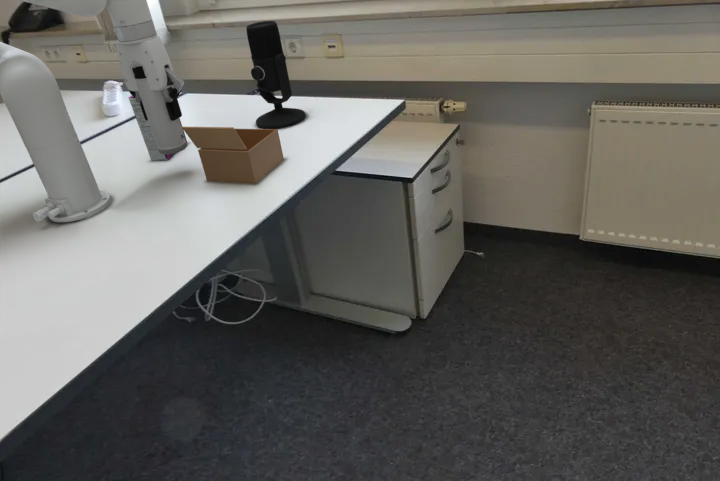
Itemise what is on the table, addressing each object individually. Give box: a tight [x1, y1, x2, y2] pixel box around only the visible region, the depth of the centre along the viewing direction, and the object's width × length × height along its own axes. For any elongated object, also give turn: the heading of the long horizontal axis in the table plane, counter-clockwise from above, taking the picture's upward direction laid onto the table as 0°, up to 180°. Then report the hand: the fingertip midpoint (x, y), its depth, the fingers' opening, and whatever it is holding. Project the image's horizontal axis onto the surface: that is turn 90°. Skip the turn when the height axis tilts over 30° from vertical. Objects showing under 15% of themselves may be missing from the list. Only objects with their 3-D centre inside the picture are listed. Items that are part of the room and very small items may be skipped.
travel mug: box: [132, 66, 188, 155], centre depth 122 cm, size 6×7×20 cm
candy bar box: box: [128, 95, 188, 162], centre depth 140 cm, size 11×5×16 cm, turn 168°
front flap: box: [182, 126, 247, 150], centre depth 116 cm, size 6×12×1 cm
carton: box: [197, 128, 285, 185], centre depth 126 cm, size 13×13×7 cm
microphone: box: [245, 20, 307, 130], centre depth 148 cm, size 14×14×25 cm
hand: (163, 117), depth 123 cm, fingers closed on travel mug, 6 cm apart
